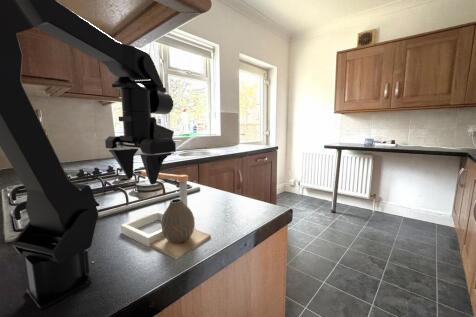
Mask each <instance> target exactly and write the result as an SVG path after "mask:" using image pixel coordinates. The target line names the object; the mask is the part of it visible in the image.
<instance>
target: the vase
mask: <svg viewBox="0 0 476 317" xmlns="http://www.w3.org/2000/svg"><path fill="white" fill-rule="evenodd" d="M163 212H164V214H163V217H162V221H160V222H161V226H160V227H161V229H162V232H163V234H164V236H165V238H166V239H167V240H168V241H170V242H172V243H182V242H185V241H187V240H188V239H189V238H190V237H191V235H192V233H193V231H194V229H195V224H196V223H195V216H194V214H193V212H192V210H191V209H190V207H188V205H187V206H186V205H185V204H184V203H183V201H182V199H180V198H174V199H173V198H172V199H171V200H170V201H169V204H168V207H167V208H165V210H164V211H163Z"/></svg>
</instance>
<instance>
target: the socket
mask: <svg viewBox="0 0 476 317" xmlns="http://www.w3.org/2000/svg"><path fill="white" fill-rule="evenodd" d="M178 187H179V188H178V189H179V199H182V201H183V203H184V204H185V205H186V206H187V207H188V181H186V182H179V186H178ZM164 212H165V211H162V210H157V211H154V212H151V213H149V214H146V215H144V216H141V217H138V218H135V219H132V220H130V221H127V222H124V223H122V224H120V233H121V235H124V236H127V237H128V238H130V239H132V240H134V241H136V242H138V243H140V244H142V245H144V246H146V247H151V246H150V243H152V242H154V241H156V240H158V239H160V238H162V237H164V234H163V232H162V228H160V229H159V230H156V231H155V232H152V233H147V232H145V231H142V230H140V229H139V228H142V227H144V226H146V225H149V224H151V223H154V222H156V221H160V222H162V217H163V214H164Z"/></svg>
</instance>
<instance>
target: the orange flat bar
mask: <svg viewBox="0 0 476 317" xmlns="http://www.w3.org/2000/svg"><path fill="white" fill-rule="evenodd" d="M140 175H141V177H147V174H146V171H145V170H144V171H141V172H140ZM147 178H148V177H147ZM157 179H162V180H169V181H177V182H186V181H187V182H189V175H187V174H171V173H163V172H159V175H158V178H157Z"/></svg>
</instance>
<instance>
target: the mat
mask: <svg viewBox="0 0 476 317" xmlns="http://www.w3.org/2000/svg"><path fill="white" fill-rule="evenodd" d="M211 237H212V235H211V234H209V233H206V232H203V231H201V230H198V229H195V228H194V231H193V233H192V235H191V237H190V238H189V239H188V240H187V241H185V242H182V243H172V242H170V241H168V240H167V239H166V238H165V236H164V237H162V238H160V239H158V240H156V241H154V242H152V243H150V246H149V247H150V248H153V249H154V250H157V251H159V252H161V253H163V254H165V255H167V256H169V257H171V258H173V259H175V260H179V259H180V258H181V257H183V256H184V255H186V254H187V253H188V252H190V251H192V250H193V249H195V248H196V247H198V246H200V245H201V244H202V243H205V242H206V241H207V240H209V239H210V238H211Z"/></svg>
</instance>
